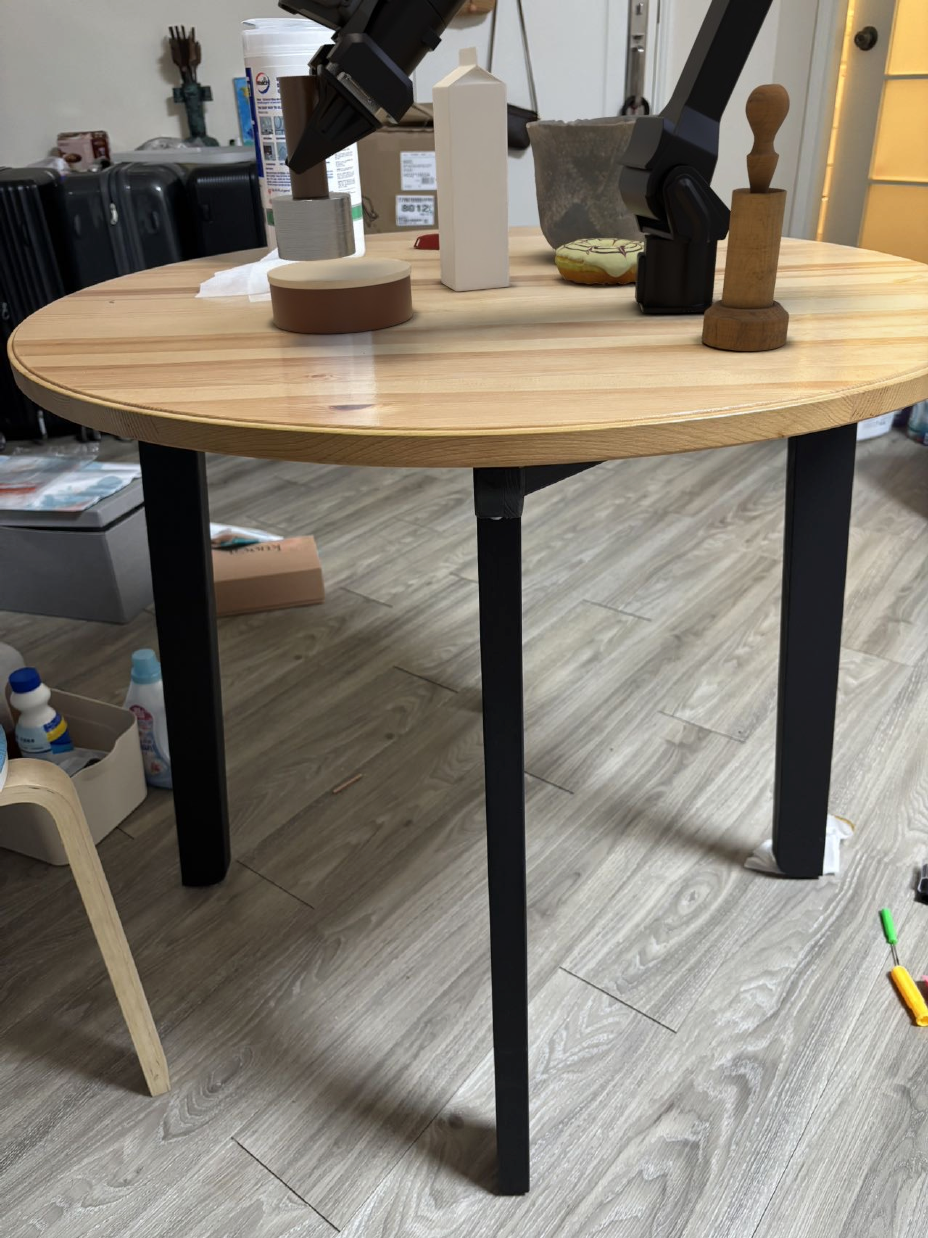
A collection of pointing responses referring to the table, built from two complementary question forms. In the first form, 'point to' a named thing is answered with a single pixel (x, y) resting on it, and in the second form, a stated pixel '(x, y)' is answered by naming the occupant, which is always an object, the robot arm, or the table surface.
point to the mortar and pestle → (754, 241)
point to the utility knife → (428, 242)
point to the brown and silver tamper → (309, 189)
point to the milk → (472, 176)
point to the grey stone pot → (582, 178)
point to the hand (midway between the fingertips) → (290, 169)
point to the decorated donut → (599, 260)
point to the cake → (341, 295)
